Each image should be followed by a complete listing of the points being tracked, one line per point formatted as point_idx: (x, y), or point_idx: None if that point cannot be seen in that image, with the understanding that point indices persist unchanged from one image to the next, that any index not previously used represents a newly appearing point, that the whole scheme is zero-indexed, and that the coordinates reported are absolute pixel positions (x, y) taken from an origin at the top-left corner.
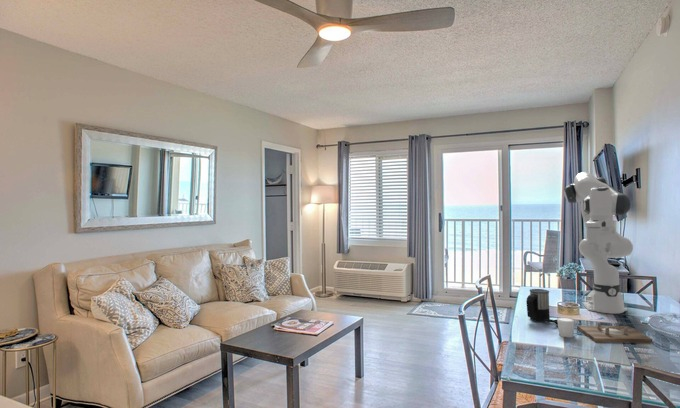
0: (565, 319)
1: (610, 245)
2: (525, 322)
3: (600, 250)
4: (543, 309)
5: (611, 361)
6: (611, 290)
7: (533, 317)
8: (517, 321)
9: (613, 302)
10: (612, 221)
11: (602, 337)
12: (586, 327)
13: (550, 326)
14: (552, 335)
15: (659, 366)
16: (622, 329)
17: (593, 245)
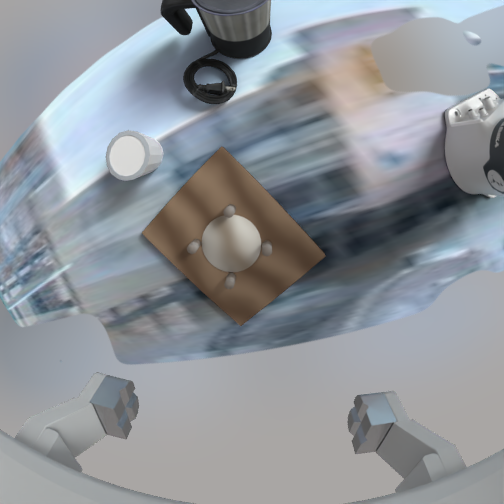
0: (128, 153)
1: (405, 475)
2: None
3: (115, 435)
4: (216, 36)
5: (76, 292)
6: (498, 180)
7: (187, 34)
8: None
9: (475, 179)
10: None
11: (161, 243)
12: (222, 175)
13: None
14: None
15: (118, 349)
16: (276, 255)
17: (22, 428)
